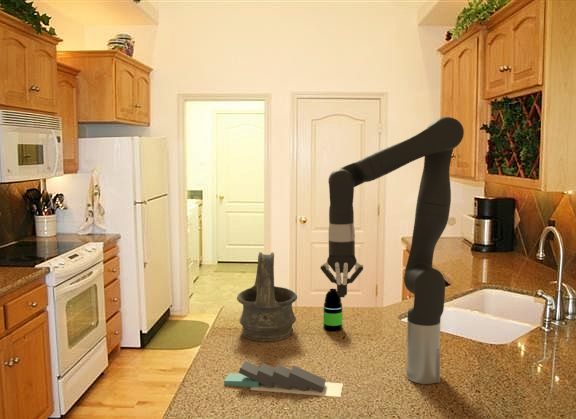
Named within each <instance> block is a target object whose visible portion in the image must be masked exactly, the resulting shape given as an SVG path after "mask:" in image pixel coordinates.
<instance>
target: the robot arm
mask: <svg viewBox="0 0 576 419" xmlns="http://www.w3.org/2000/svg"><path fill="white" fill-rule="evenodd" d="M464 130H465V129H464V127H463V124H462V123H461V122H460V120H458V119H456V118H454V117H450V116H444V117H443V116H442V117H440V118H438V119H435V120H433V121H431V123H430V124H428V125H427V127H426V128H425V129H423V130H422V131H421V132H418V133H417V134H415V135H413V136H411V137H410V138H407V139H405V140H403V141H400V142H398V143H395V144H392V145H390V146H387V147H384V148H381V149H379V150H377V151H375V152H373V153H371V154H369V155H366V156H364V157H362V158H361V159H359V160H357V161H355V162H352V163H349V164H347V165H344V166H342V167H340V168H336V169H335V170H334V171H332V172H331V173H330V174H329V176H328V181H327V182H328V189H329V208H328V209H329V210H328V222H329V223H328V257H327V259H326V262H325V263H322V264H321V265H320V267H319V268H320V270H321V272H322V273H323V274H324V275H325V277H326V278H327V279H328V280H329V281H330V283H333V284H335V285H336V289H337V290H336V291H337V295H339V297H341V298H345V297H346V296H347V294H348V284H352V283H354V281H355V280H356V279H357V277H359V275H360V274H361V273H362V271H363V270H364V264H361V263H359V262H358V261H357V257H356V252H355V250H356V245H355V244H356V240H355V238H356V234H355V233H356V232H355V231H356V230H355V225H354V222H355V221H354V220H355V219H354V218H355V217H354V216H355V215H354V213H355V212H354V205H353V204H354V195H355V193H354V192H355V187H358V186H360V185H362V184H364V183H369V182H372V181H375V180H377V179H380V178H382V177H384V176H386V175H388V174H391V173H392V172H394V171H396V170H398V169H400V168H402V167H403V166H406V165H408V164H410V163H412V162H414V161H416V160H419V159H421V158H423V159H424V160H423V169H422V170H423V171H422V174H421V178H420V183H419V187H418V194H417V197H416V198H417V200H416V207H415V215H414V224H413V230H412V236H411V245H410V249H409V254H408V258H407V261H406V262H407V263H406V265H405V270H404V275H403V282H404V285H405V288H406V290H408V292H409V293H411V294H413V295H414V299H413V306H412V307H411V308H409V309H408V311H407V321H406V322H407V323H406V324H407V325H406V331H407V332H406V378H407V379H408V380H409V381H411V382H414V383H416V384H419V385H420V384H421V385H431V384H437V383H441V354H442V353H441V348H440V347H441V344H440V343H441V320H442V319H441V317H442V315H443V313H444V309H445V298H446V296H445V295H446V281H445V280H446V279H445V277H444V275H443V273H441V271H439V270H438V269H436V268H435V267H433V260H434V252H435V249H436V246H437V244H438V241H439V240H440V238H441V236H442V235H443V233H444V231H445V229H446V227H447V225H448V222H449V216H450V209H451V205H452V204H451V202H452V189H451V188H452V187H451V179H450V171H451V170H450V167H451V163H452V162H451V161H452V158H453V157H452V156H453V152H454V149H455V148H457V147H458V146H459V145H460V143H461V142H462V141H463V138H464V134H465V131H464ZM330 268H331V270H332V271H333V272H334V273H335V276H334V274H333V273H332V272H331V271H330ZM353 268H354V272H352V274H351V276H350V277H349V276H348V275H349V273H350V272H351V271H352V270H353Z"/></svg>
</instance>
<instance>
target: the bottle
mask: <svg viewBox="0 0 576 419" xmlns="http://www.w3.org/2000/svg"><path fill="white" fill-rule="evenodd" d="M324 298H325V299H324V302H323V327H322V328H323V329H324V331H327V332H331V333H332V332H334V333H335V332H340V331H342V330H343V329H344V328H343V302H342V297H339V295H337V288H330V289H329V290H328V291H327V292H326V294H325V297H324Z"/></svg>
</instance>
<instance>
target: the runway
mask: <svg viewBox="0 0 576 419" xmlns="http://www.w3.org/2000/svg"><path fill="white" fill-rule="evenodd" d="M343 386H344V383H341V382H340V383H339V382H338V383H337V382H329V381H327V382H326V381H325V385H324V389H323V391H322V392H319V391H317V390H315V389H313V388H310V387H307V389H306V391H304V390H301V389H299V388H297V387H295V386H291V388H290V390H288V389H286V388H284V387H281V386H279V385H277V384H275V383H273V385H272V387H271V388H270V387H268V386H266V385H264V384H262V383H261V384H260V385H259V387H250V389H249V391H262V392H272V393H273V392H275V393H286V394H299V395H310V396H322V397H323V396H324V397H325V396H326V397H337V398H341V397H342V390H343Z"/></svg>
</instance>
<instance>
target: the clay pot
mask: <svg viewBox="0 0 576 419" xmlns="http://www.w3.org/2000/svg"><path fill="white" fill-rule="evenodd" d="M274 264H275V253H274V252H270V254H264V253H263V252H258V256H257V267H256V274H255V275H256V276H255V280H254V284H253V286H251V287H250V288H246V289H244V290H242V291H241V292H238V294H237V295H236V296H237V297H236V300H237V302H238V303H240V304H241V305H242V307H243V308H242V313H241V314H240V317H239V319H238V321H239V324H240V325H241V326H242V330H241V334H242V336H243V337H244V338H246V339H249V340H251V341H256V342H273V341H282V340H284V339H287V338H289V337H291V336H292V335H293V334H294V328H293V325H294V324H295V323H296V320H297V317H296V316H295V313H294V311H293V303H295V302H296V301H297V300H298V295H297V294H296V292H294V291H293V290H291V289H289V288H287V287H282V286H275V268H274V266H275V265H274Z"/></svg>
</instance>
